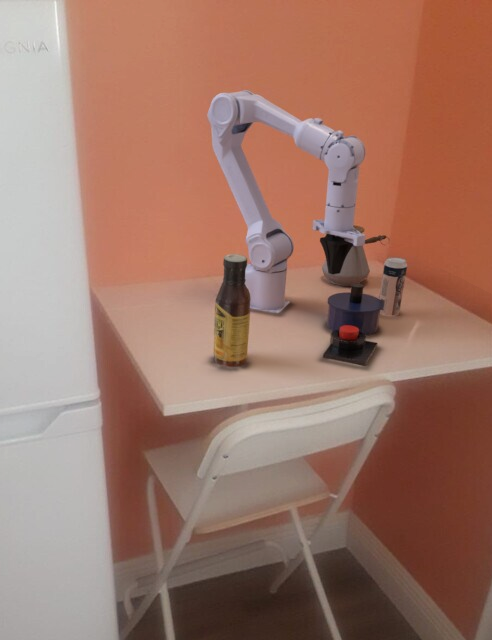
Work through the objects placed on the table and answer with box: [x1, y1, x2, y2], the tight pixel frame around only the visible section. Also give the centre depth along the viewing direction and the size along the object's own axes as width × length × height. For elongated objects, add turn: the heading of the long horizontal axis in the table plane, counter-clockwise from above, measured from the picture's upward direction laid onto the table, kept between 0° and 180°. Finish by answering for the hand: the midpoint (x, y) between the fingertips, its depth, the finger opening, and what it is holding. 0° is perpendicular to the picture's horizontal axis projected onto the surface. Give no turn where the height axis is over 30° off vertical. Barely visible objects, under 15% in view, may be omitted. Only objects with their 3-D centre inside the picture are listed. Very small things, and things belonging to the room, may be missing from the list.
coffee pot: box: [321, 224, 391, 287], centre depth 164 cm, size 21×12×15 cm, turn 19°
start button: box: [339, 325, 359, 340], centre depth 134 cm, size 4×4×2 cm
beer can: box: [378, 256, 408, 317], centre depth 150 cm, size 5×5×12 cm
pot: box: [326, 304, 381, 336], centre depth 144 cm, size 10×10×5 cm
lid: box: [326, 283, 383, 314], centre depth 142 cm, size 11×11×4 cm
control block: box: [322, 329, 379, 367], centre depth 133 cm, size 10×8×3 cm
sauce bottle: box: [213, 253, 251, 368], centre depth 124 cm, size 7×6×20 cm
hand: (334, 273), depth 143 cm, fingers closed
